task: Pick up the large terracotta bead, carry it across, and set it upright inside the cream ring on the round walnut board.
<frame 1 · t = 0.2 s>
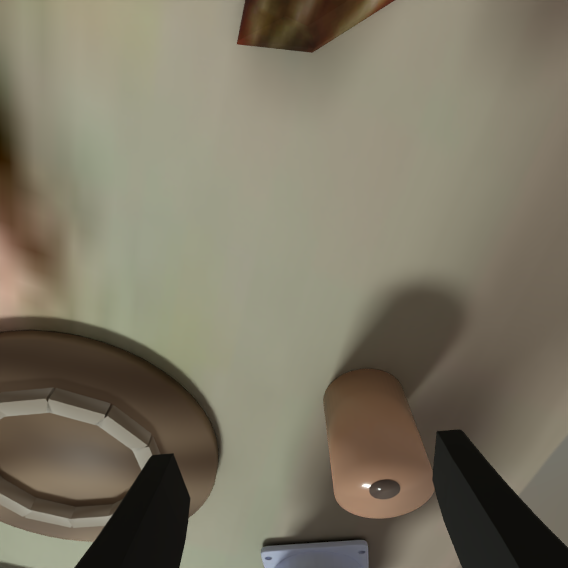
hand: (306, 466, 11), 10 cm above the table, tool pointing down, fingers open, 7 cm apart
ring board: (73, 448, 25), on the table
terracotta bead: (363, 399, 23), on the table
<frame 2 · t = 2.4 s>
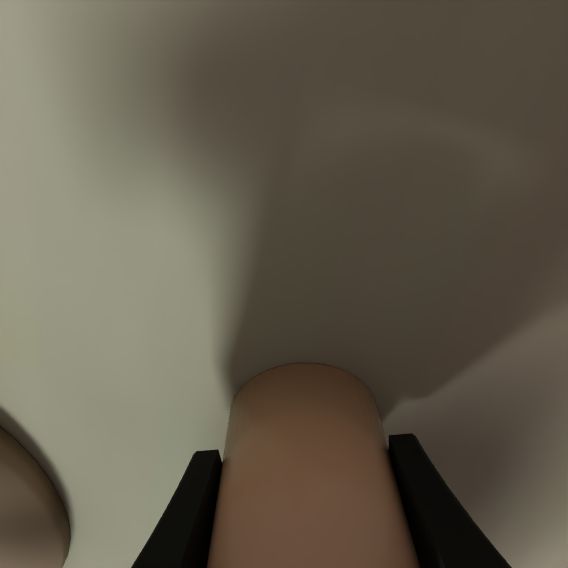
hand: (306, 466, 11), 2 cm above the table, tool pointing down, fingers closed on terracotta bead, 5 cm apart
terracotta bead: (303, 420, 13), on the table, touching gripper
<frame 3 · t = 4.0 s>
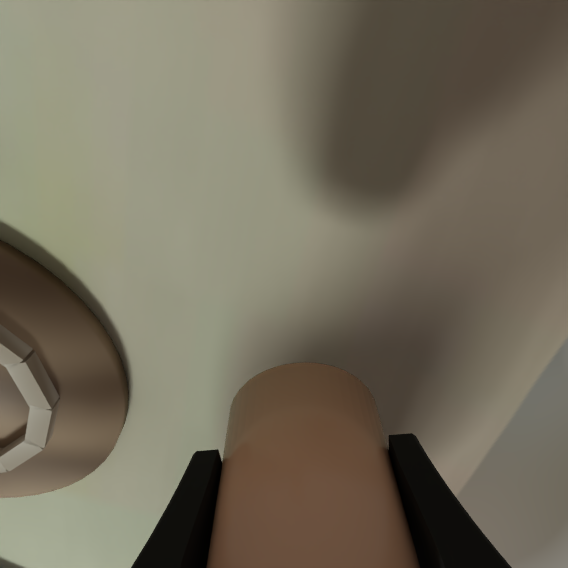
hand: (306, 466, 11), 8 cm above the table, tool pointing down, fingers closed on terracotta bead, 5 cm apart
terracotta bead: (303, 419, 13), point 7 cm above the table, touching gripper
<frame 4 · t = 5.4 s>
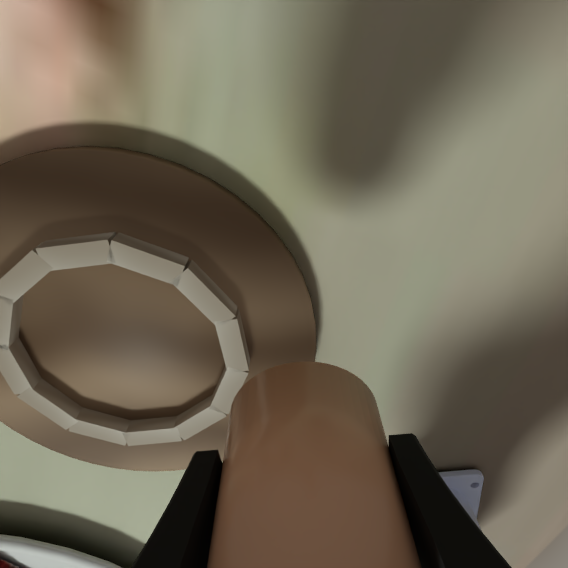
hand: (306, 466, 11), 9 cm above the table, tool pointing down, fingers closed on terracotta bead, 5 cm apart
ring board: (131, 337, 20), on the table
terracotta bead: (303, 418, 13), point 7 cm above the table, touching gripper
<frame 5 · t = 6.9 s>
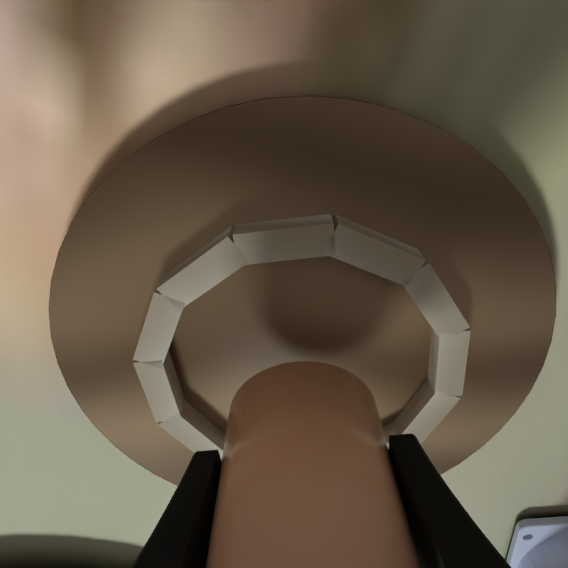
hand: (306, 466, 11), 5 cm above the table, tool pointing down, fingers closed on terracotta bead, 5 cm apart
ring board: (300, 351, 16), on the table
terracotta bead: (303, 418, 12), point 3 cm above the table, touching gripper
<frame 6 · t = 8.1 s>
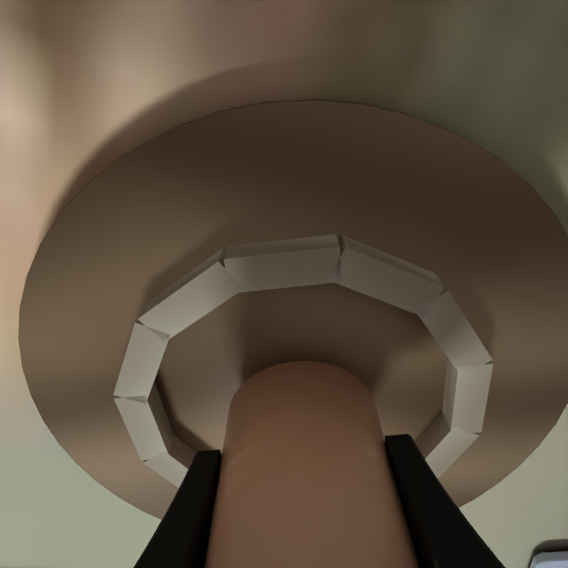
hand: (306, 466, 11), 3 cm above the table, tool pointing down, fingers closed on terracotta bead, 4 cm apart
ring board: (301, 380, 14), on the table
terracotta bead: (302, 418, 13), point 2 cm above the table, touching gripper
when the fingers open (3 cm above the table, at t = 8.4 s): terracotta bead stays where it is, resting on ring board.
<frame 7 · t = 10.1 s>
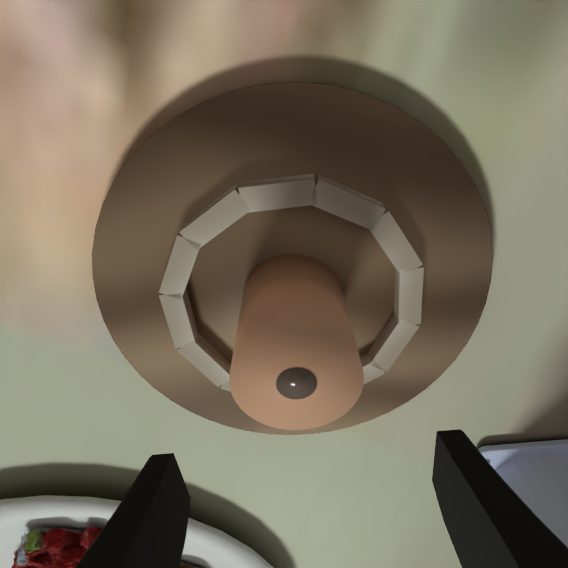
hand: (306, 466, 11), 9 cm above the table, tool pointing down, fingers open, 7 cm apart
ring board: (291, 291, 19), on the table
terracotta bead: (292, 299, 18), point 1 cm above the table, touching ring board
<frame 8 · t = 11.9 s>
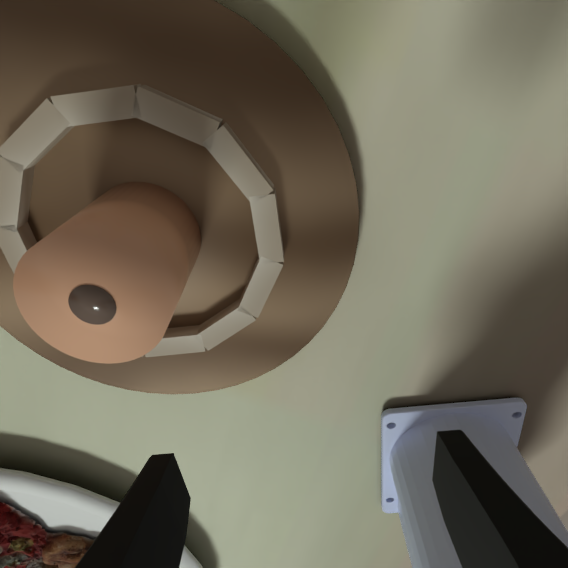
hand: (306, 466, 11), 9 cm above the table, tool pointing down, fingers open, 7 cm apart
plated food: (28, 566, 32), on the table
ring board: (151, 230, 18), on the table
terracotta bead: (146, 235, 17), point 1 cm above the table, touching ring board
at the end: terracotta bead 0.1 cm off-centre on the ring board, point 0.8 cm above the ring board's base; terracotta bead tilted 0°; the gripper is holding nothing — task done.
